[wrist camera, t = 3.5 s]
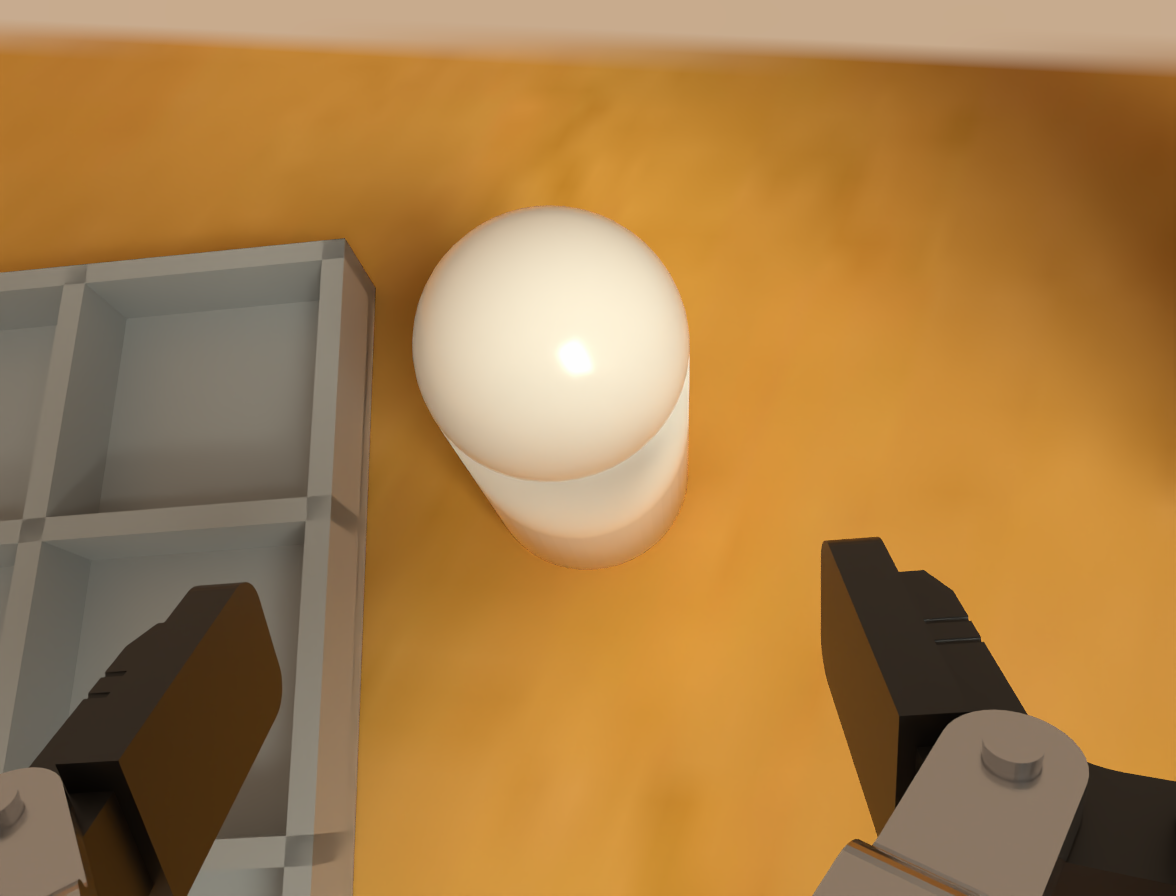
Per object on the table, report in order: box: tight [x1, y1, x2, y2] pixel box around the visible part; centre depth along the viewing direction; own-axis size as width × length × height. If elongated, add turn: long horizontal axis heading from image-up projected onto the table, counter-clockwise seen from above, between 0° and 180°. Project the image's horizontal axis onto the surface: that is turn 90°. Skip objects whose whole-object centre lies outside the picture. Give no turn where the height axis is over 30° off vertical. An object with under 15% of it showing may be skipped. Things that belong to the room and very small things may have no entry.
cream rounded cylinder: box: [412, 206, 690, 570], centre depth 20 cm, size 5×5×10 cm
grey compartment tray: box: [0, 238, 376, 896], centre depth 22 cm, size 15×22×3 cm, turn 3°
